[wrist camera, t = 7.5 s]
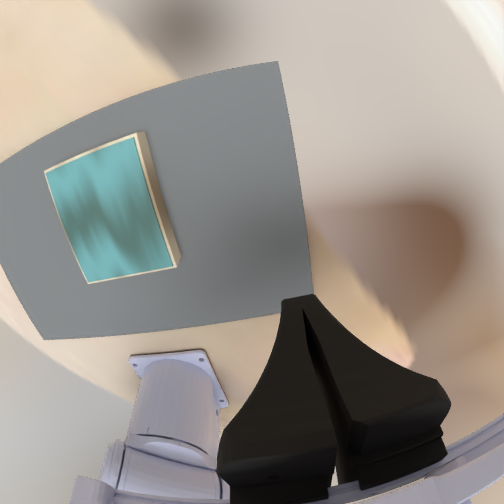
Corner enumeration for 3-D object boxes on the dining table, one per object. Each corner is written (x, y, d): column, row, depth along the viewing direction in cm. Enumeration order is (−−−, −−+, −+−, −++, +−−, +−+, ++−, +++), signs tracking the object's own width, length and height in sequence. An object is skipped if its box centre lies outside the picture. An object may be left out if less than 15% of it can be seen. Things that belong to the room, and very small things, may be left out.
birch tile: (176, 268, 19) (87, 285, 19) (181, 256, 20) (95, 273, 21) (135, 132, 15) (42, 171, 15) (144, 130, 16) (55, 165, 17)
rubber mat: (313, 302, 23) (314, 306, 23) (45, 336, 25) (43, 339, 24) (276, 62, 15) (277, 61, 15) (-26, 183, 17) (-29, 184, 16)
